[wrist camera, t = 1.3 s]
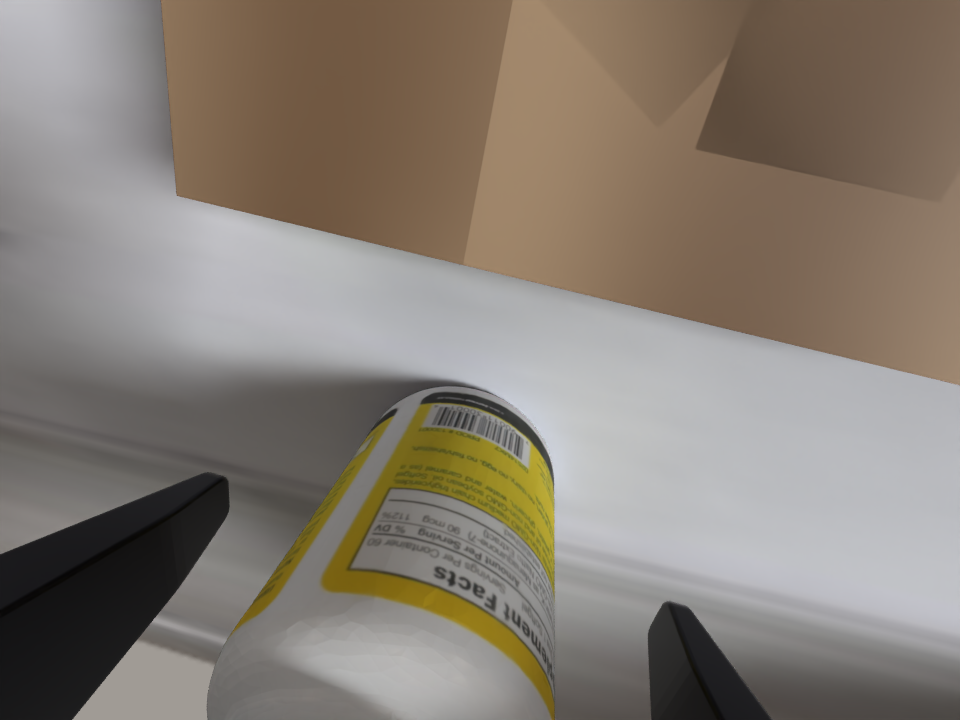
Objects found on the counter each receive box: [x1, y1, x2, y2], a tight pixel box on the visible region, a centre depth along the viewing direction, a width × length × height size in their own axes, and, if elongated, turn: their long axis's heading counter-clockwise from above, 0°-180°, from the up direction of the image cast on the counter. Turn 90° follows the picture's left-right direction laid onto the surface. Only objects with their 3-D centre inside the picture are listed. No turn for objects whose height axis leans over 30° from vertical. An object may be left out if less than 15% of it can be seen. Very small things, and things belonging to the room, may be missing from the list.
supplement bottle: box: [207, 386, 555, 720], centre depth 8 cm, size 5×5×8 cm
